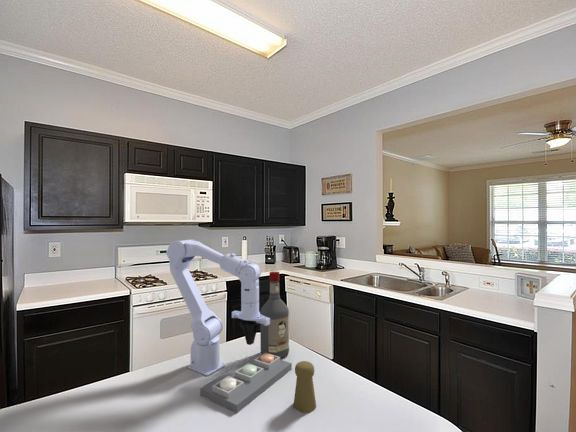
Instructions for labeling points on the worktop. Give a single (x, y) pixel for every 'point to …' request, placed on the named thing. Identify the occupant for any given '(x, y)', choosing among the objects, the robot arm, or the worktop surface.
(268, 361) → the terracotta button
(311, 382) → the olive pawn
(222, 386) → the cream button
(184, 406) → the worktop surface
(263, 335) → the liquor
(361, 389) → the worktop surface
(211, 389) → the button panel
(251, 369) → the sage button
